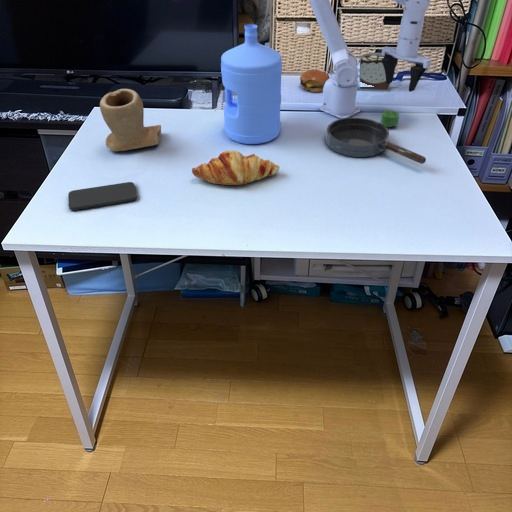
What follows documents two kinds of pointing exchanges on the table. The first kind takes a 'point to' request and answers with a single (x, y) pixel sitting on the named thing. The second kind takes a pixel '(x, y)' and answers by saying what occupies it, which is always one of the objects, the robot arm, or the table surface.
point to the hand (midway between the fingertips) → (400, 86)
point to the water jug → (252, 90)
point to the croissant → (235, 169)
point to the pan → (356, 136)
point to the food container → (373, 72)
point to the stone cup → (127, 121)
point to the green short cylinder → (389, 118)
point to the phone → (101, 196)
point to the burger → (314, 80)
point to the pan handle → (403, 152)
